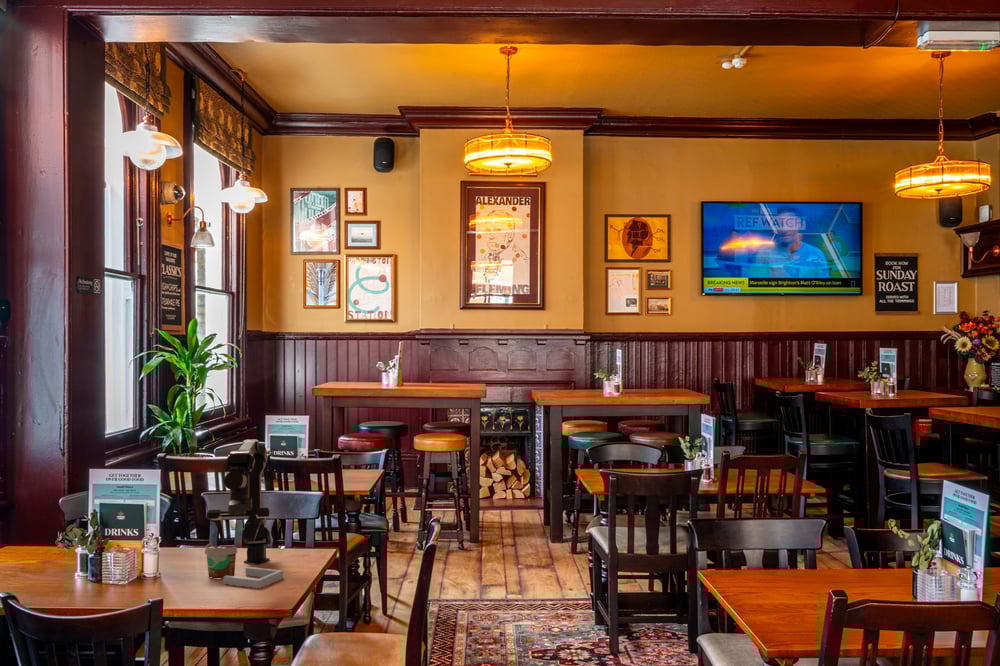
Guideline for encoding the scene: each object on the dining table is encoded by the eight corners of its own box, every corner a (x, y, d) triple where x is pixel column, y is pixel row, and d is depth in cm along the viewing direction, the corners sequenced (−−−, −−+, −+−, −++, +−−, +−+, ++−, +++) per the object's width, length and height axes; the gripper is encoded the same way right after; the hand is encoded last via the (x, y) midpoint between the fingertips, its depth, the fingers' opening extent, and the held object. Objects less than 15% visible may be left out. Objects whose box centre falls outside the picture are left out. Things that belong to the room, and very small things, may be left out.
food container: (196, 577, 263) (196, 546, 263) (210, 572, 269) (210, 542, 269) (223, 581, 258) (222, 550, 258) (237, 576, 263) (237, 546, 263)
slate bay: (248, 574, 266) (248, 566, 266) (283, 578, 260) (283, 570, 260) (223, 584, 255) (223, 576, 255) (259, 588, 249) (259, 580, 249)
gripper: (205, 491, 243) (203, 544, 240) (268, 489, 247) (267, 541, 244) (210, 492, 254) (208, 543, 250) (270, 490, 258) (269, 540, 254)
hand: (238, 541), depth 250 cm, fingers open, 9 cm apart
